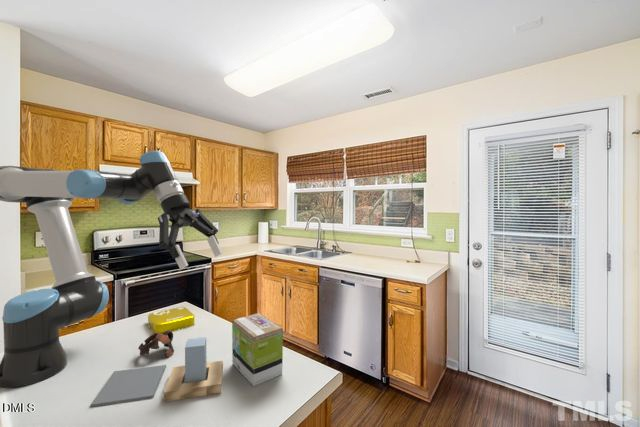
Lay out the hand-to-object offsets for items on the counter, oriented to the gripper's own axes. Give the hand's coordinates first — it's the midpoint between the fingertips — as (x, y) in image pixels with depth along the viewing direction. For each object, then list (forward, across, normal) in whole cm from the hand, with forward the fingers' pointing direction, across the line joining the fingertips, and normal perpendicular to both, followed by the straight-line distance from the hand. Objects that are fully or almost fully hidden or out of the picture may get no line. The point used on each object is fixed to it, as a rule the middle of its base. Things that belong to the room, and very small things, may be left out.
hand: (202, 261), depth 88 cm
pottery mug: (+19, -1, +35) cm, 40 cm away
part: (+30, -8, +14) cm, 34 cm away
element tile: (+13, +17, +51) cm, 55 cm away
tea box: (+37, +4, +5) cm, 38 cm away
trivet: (+22, -16, +27) cm, 38 cm away
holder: (+30, -8, +14) cm, 34 cm away
